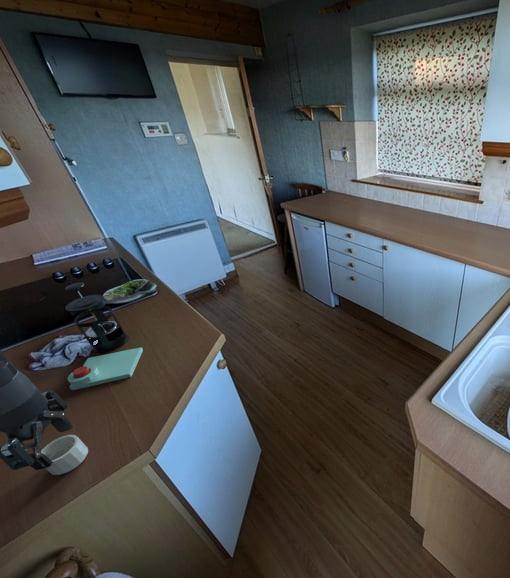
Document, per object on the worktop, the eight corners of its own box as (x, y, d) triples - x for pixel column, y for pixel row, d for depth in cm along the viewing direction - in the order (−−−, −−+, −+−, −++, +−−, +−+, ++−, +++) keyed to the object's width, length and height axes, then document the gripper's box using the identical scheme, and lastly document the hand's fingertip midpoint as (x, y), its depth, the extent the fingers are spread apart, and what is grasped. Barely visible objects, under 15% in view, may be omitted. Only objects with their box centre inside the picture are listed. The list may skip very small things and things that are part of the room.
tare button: (73, 379, 82) (70, 375, 81) (78, 371, 85) (75, 367, 84) (87, 376, 83) (84, 372, 82) (92, 368, 86) (89, 364, 85)
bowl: (44, 480, 62) (29, 468, 60) (59, 452, 68) (47, 440, 65) (81, 469, 64) (69, 457, 62) (94, 443, 70) (83, 430, 67)
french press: (128, 346, 97) (93, 288, 85) (91, 358, 92) (48, 298, 80) (128, 328, 105) (96, 272, 93) (94, 338, 100) (55, 281, 88)
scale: (69, 391, 82) (63, 384, 80) (88, 361, 91) (83, 354, 90) (131, 377, 86) (126, 370, 85) (143, 350, 96) (139, 343, 94)
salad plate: (112, 313, 112) (106, 303, 110) (91, 300, 120) (85, 290, 117) (164, 290, 127) (160, 281, 124) (143, 280, 134) (139, 271, 132)
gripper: (4, 376, 59) (52, 424, 68) (-54, 440, 48) (12, 488, 56) (52, 366, 61) (92, 414, 70) (7, 424, 50) (62, 473, 59)
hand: (56, 447), depth 63 cm, fingers open, 8 cm apart
